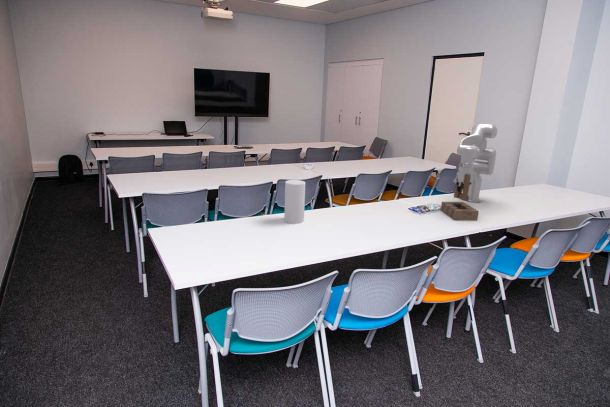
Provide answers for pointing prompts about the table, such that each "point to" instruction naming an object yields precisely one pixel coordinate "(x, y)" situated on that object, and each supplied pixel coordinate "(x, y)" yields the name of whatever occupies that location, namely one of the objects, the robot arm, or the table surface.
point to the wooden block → (465, 189)
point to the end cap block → (459, 211)
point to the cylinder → (294, 201)
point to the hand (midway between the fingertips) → (461, 191)
